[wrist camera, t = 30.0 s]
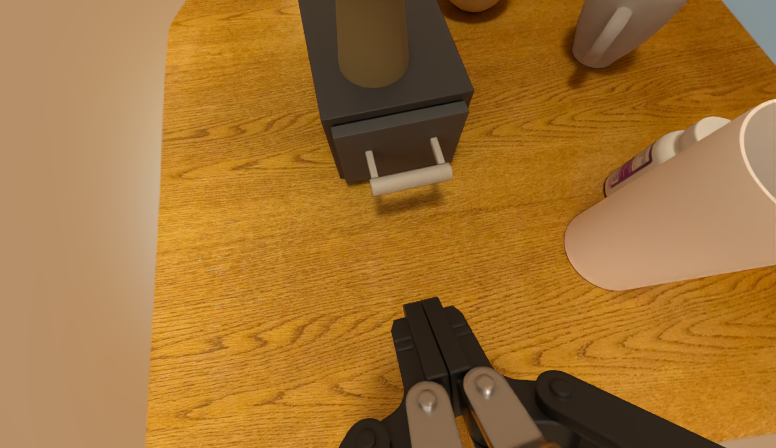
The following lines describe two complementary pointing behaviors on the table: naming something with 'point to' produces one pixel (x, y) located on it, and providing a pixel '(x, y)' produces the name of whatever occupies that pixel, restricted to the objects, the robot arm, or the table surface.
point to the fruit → (474, 4)
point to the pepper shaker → (372, 41)
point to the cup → (687, 213)
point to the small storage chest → (413, 90)
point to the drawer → (401, 147)
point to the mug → (618, 27)
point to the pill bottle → (661, 152)
